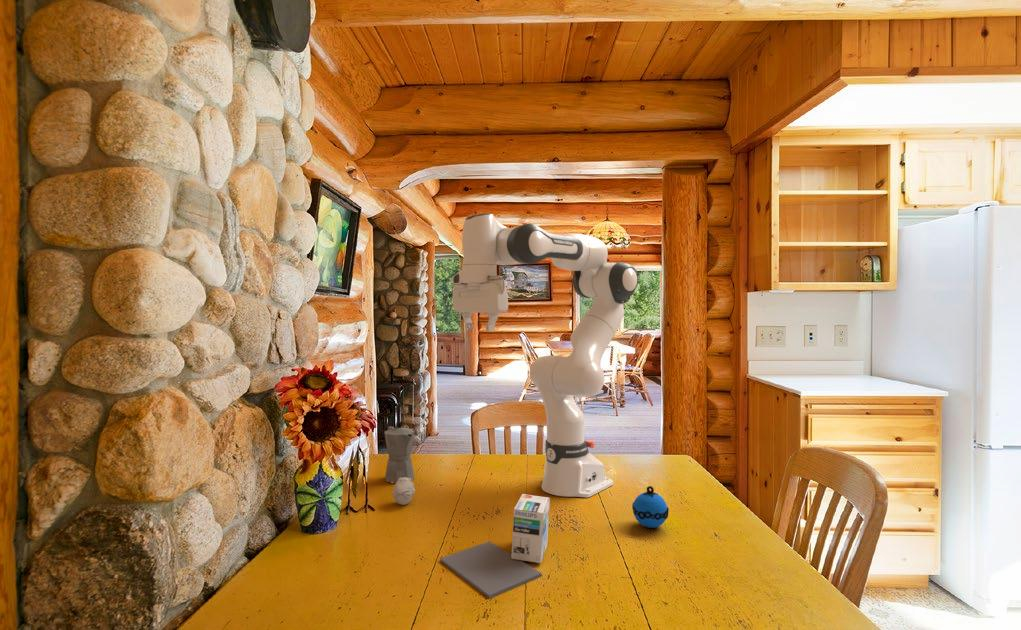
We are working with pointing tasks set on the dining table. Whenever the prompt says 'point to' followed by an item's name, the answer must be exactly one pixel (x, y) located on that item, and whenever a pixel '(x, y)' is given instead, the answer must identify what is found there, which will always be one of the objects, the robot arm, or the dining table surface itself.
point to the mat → (490, 569)
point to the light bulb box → (530, 528)
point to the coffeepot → (398, 452)
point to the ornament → (650, 509)
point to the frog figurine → (403, 490)
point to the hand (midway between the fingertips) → (479, 330)
